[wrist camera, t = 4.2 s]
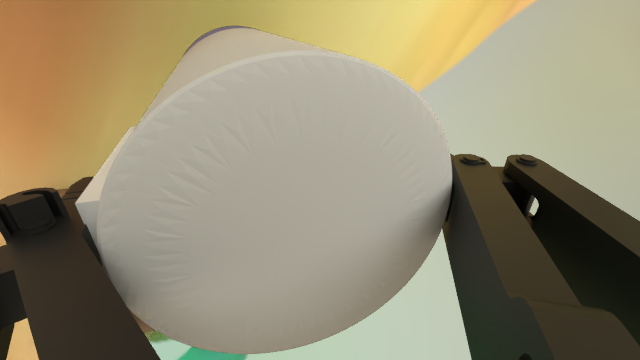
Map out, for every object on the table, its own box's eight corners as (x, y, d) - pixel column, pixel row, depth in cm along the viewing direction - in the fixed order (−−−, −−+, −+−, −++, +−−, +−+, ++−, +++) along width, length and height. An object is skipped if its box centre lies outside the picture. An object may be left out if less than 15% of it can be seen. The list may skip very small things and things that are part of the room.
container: (255, 167, 29) (319, 379, 12) (150, 103, 24) (7, 317, 7) (322, 82, 27) (506, 191, 10) (225, -7, 22) (274, -80, 5)
